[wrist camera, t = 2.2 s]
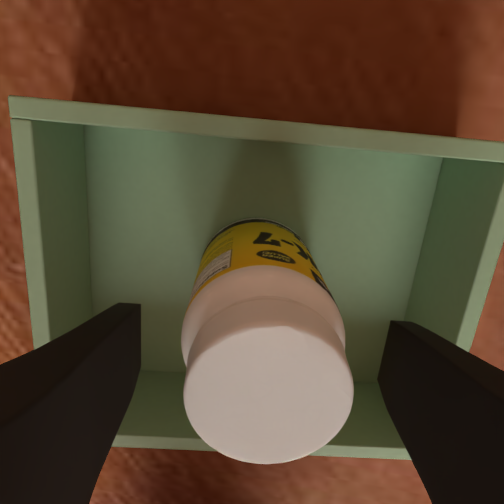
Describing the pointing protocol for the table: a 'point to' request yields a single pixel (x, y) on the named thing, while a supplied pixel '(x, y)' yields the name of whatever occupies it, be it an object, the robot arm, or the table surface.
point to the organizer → (241, 207)
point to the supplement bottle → (264, 347)
